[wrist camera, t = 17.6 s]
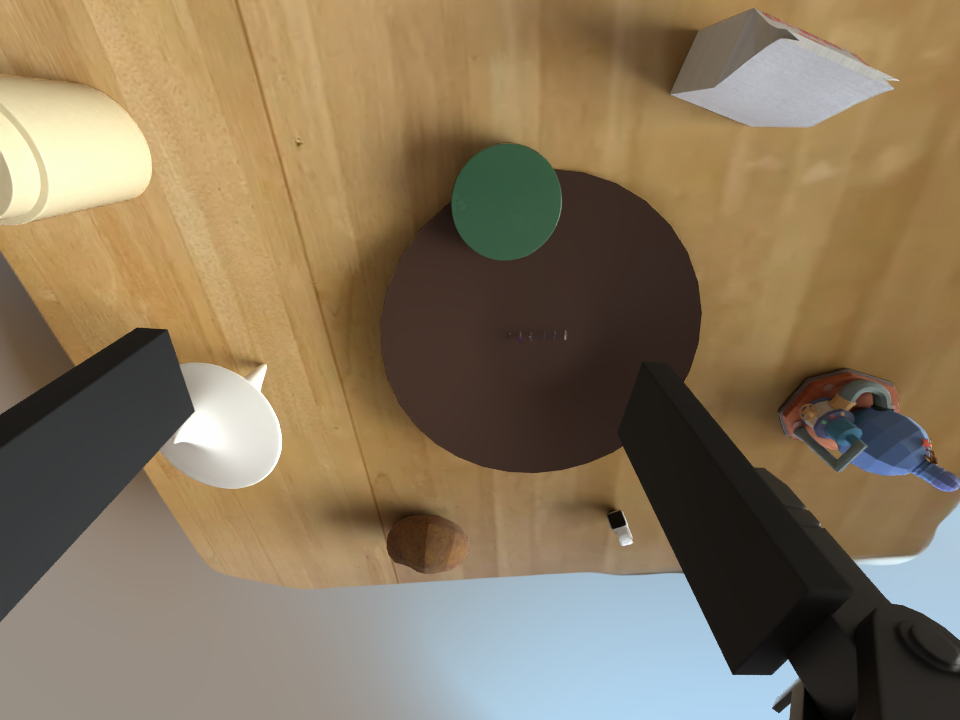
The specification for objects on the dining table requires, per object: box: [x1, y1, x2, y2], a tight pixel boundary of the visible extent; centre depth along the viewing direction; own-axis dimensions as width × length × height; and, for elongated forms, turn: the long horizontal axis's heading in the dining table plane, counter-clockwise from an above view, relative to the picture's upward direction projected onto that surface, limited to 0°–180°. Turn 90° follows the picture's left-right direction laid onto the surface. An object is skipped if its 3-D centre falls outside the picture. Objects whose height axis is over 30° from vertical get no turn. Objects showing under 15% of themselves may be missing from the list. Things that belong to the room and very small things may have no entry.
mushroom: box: [160, 362, 282, 489], centre depth 33 cm, size 10×11×12 cm
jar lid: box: [451, 143, 562, 260], centre depth 30 cm, size 8×8×2 cm
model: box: [778, 368, 960, 492], centre depth 39 cm, size 12×9×9 cm
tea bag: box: [670, 8, 900, 127], centre depth 24 cm, size 4×7×10 cm, turn 73°
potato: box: [387, 515, 469, 574], centre depth 48 cm, size 7×10×6 cm
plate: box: [381, 170, 702, 473], centre depth 36 cm, size 28×28×4 cm
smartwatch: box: [607, 510, 634, 546], centre depth 49 cm, size 4×2×4 cm, turn 27°
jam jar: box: [0, 74, 152, 225], centre depth 25 cm, size 8×8×10 cm
